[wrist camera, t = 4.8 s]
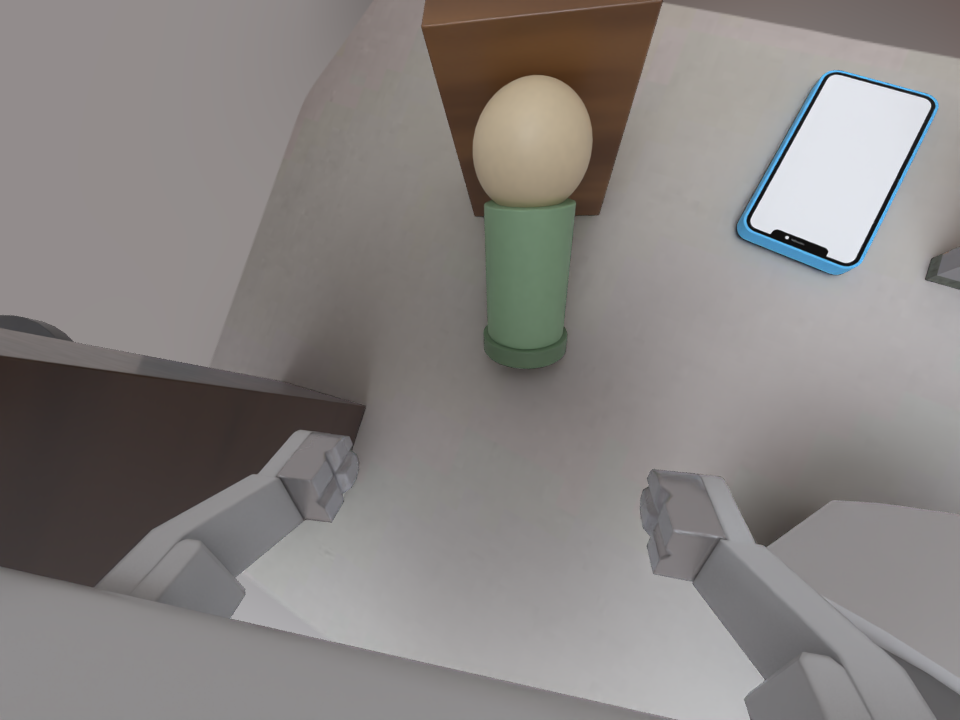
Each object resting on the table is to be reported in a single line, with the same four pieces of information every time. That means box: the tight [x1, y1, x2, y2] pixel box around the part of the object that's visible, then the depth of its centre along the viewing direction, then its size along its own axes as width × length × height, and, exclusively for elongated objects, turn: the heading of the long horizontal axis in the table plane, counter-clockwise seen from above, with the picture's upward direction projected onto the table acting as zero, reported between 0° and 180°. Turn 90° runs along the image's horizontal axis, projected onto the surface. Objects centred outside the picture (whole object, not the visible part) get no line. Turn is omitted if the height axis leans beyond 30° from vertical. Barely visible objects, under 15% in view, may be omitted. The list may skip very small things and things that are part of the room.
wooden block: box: [421, 0, 663, 216], centre depth 21 cm, size 3×10×14 cm, turn 85°
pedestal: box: [0, 328, 366, 588], centre depth 16 cm, size 8×8×22 cm
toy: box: [473, 75, 593, 369], centre depth 20 cm, size 13×6×13 cm, turn 175°
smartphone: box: [737, 70, 939, 275], centre depth 24 cm, size 8×1×15 cm
